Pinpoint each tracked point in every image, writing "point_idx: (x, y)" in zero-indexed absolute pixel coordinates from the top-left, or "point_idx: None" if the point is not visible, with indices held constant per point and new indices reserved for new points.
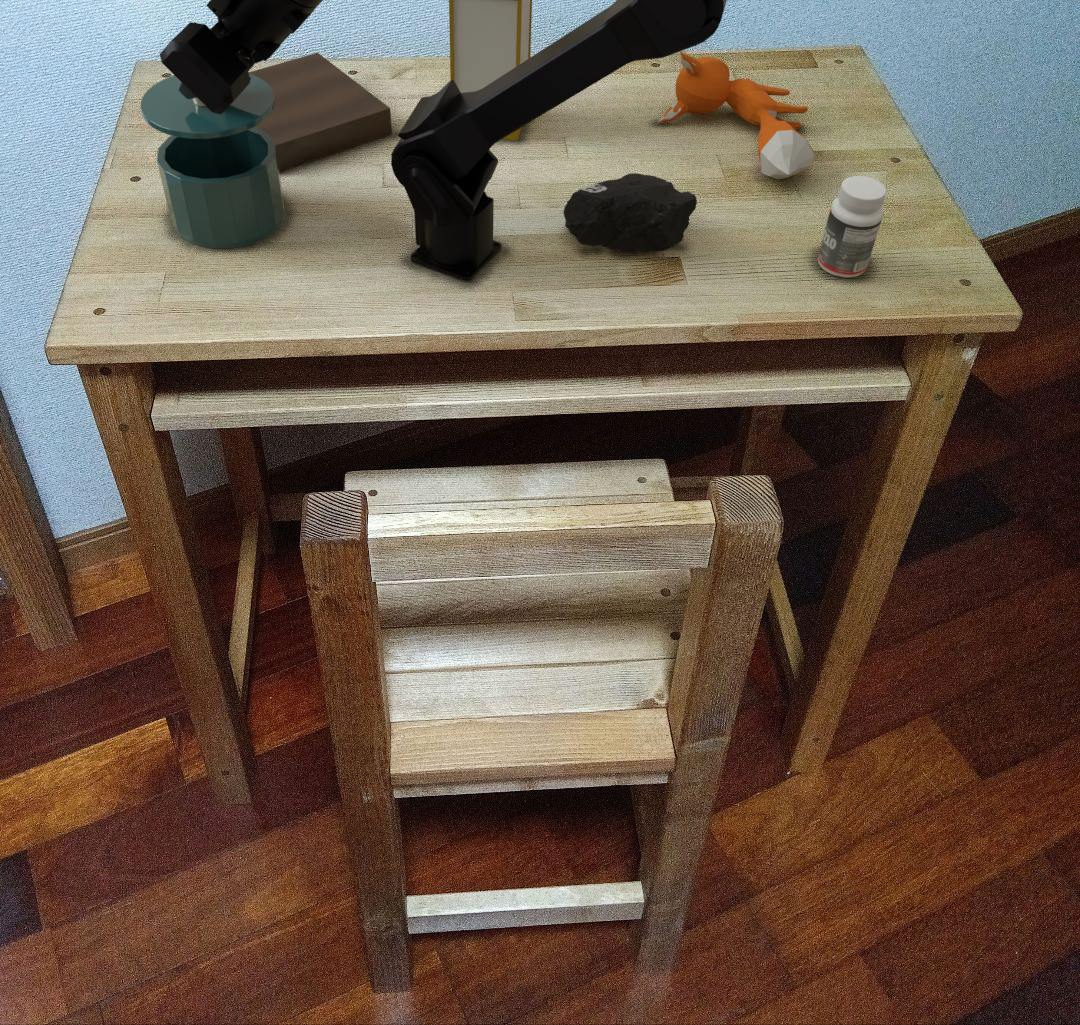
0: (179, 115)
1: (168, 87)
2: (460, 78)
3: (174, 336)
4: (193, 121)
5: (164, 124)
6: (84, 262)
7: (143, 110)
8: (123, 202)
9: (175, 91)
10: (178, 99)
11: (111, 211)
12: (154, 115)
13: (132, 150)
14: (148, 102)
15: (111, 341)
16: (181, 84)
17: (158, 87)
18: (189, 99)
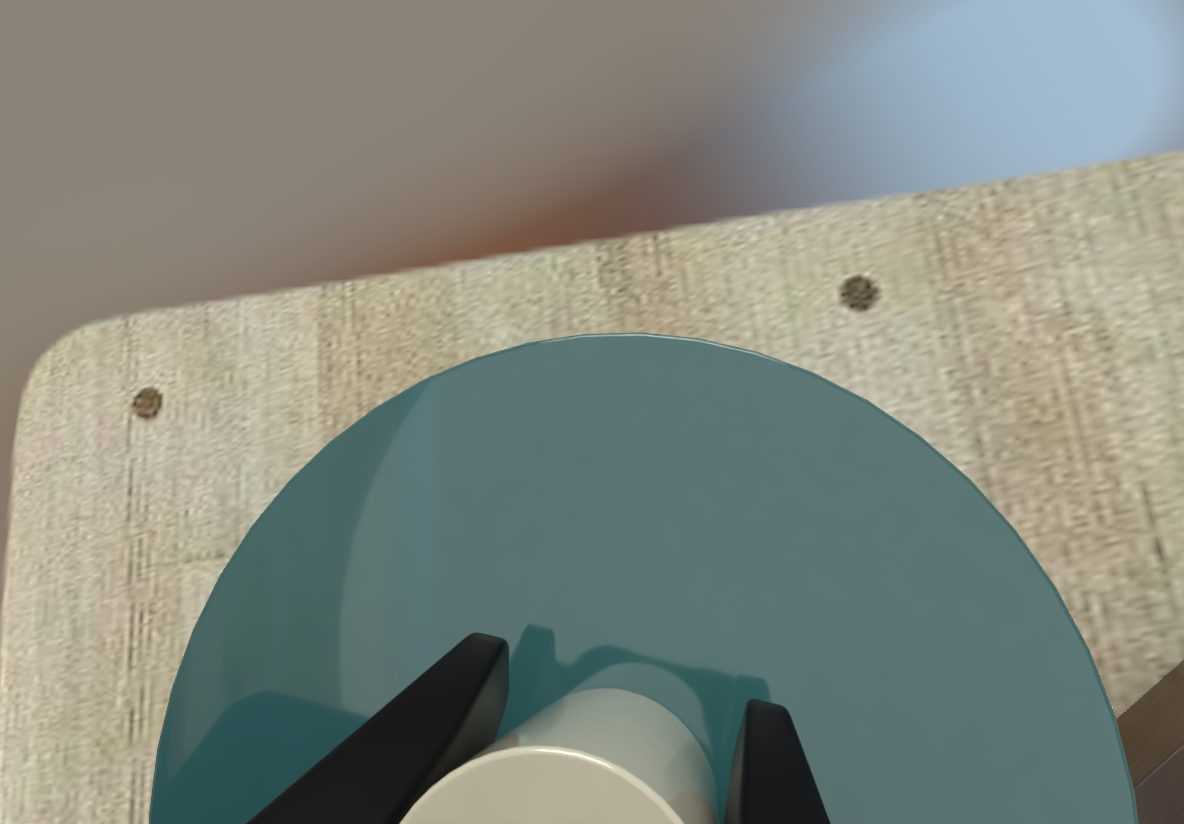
0: (364, 644)
1: (750, 467)
2: None
3: (26, 648)
4: (287, 763)
5: (251, 572)
6: (373, 287)
7: (423, 390)
8: (707, 297)
9: (701, 530)
10: (584, 582)
11: (649, 277)
12: (364, 476)
13: (1056, 223)
14: (530, 391)
15: (20, 475)
16: (414, 684)
17: (738, 399)
18: (594, 661)
